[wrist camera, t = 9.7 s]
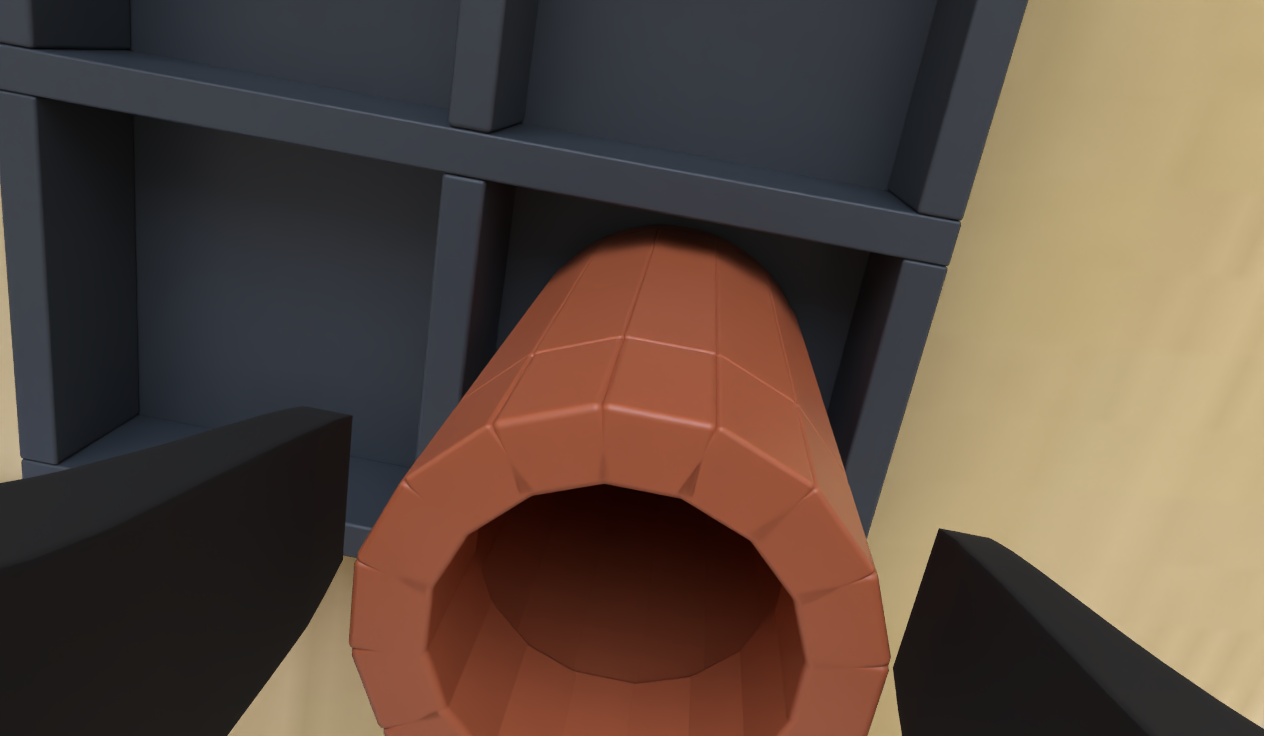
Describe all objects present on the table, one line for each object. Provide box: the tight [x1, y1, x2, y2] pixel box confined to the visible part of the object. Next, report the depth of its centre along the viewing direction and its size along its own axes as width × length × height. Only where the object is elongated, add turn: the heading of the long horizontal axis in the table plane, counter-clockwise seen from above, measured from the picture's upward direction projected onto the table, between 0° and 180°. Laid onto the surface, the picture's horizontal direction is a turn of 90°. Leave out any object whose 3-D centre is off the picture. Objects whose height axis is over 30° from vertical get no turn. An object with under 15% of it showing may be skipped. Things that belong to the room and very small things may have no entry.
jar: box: [349, 225, 891, 736], centre depth 13 cm, size 5×5×9 cm
